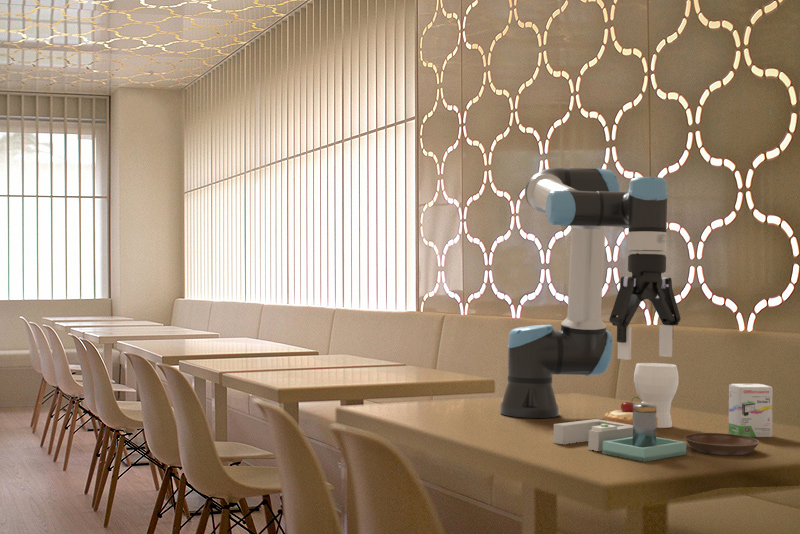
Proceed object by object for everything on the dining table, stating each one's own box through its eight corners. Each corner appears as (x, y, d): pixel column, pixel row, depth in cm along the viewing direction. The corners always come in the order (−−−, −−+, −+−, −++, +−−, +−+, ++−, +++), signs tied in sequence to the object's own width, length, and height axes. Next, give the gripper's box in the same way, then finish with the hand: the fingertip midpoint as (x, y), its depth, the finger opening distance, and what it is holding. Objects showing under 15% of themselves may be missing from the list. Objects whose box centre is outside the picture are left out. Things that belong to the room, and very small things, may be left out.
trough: (602, 453, 181) (602, 441, 181) (645, 446, 189) (645, 435, 190) (643, 461, 173) (643, 448, 173) (686, 454, 182) (686, 442, 182)
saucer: (719, 460, 178) (719, 446, 178) (669, 447, 191) (669, 434, 192) (775, 455, 184) (775, 442, 184) (722, 443, 197) (722, 431, 197)
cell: (627, 449, 182) (628, 402, 182) (641, 447, 185) (642, 400, 185) (646, 453, 178) (647, 404, 178) (660, 450, 181) (661, 403, 181)
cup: (680, 430, 213) (681, 367, 214) (634, 428, 215) (635, 365, 216) (675, 423, 224) (676, 363, 224) (632, 421, 226) (632, 362, 226)
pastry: (594, 434, 208) (593, 396, 209) (635, 430, 213) (634, 393, 213) (626, 441, 197) (625, 400, 198) (669, 437, 202) (668, 397, 202)
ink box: (739, 437, 204) (740, 386, 204) (727, 434, 209) (728, 383, 209) (773, 437, 206) (773, 385, 206) (760, 433, 211) (761, 383, 211)
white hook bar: (553, 442, 193) (553, 418, 193) (595, 436, 201) (596, 414, 201) (598, 451, 183) (598, 426, 183) (640, 445, 192) (641, 421, 192)
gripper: (623, 251, 171) (621, 362, 171) (698, 255, 187) (697, 356, 187) (592, 251, 177) (590, 358, 177) (668, 255, 193) (666, 354, 192)
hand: (645, 358), depth 182 cm, fingers open, 13 cm apart
